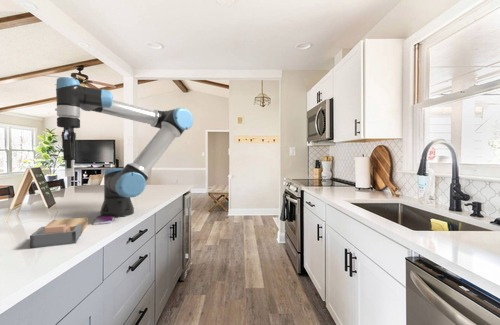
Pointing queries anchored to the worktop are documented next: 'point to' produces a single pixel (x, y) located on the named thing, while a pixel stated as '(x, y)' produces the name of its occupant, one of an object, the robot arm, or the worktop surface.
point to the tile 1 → (55, 228)
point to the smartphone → (102, 220)
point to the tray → (54, 237)
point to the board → (71, 222)
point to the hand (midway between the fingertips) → (69, 176)
